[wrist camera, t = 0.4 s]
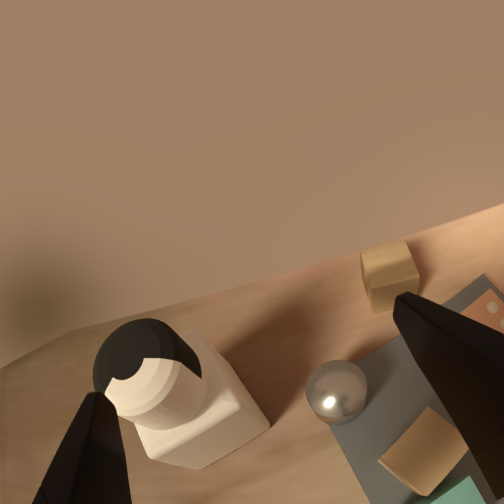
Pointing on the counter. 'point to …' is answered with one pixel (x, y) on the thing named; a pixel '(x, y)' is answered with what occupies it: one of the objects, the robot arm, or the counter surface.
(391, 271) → the oak cube
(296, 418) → the counter surface
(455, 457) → the oak cube
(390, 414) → the board
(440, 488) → the green cube
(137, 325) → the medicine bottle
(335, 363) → the metal tin
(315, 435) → the counter surface
